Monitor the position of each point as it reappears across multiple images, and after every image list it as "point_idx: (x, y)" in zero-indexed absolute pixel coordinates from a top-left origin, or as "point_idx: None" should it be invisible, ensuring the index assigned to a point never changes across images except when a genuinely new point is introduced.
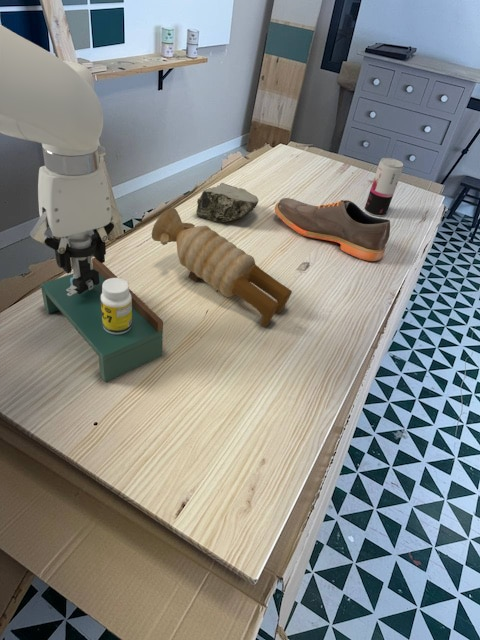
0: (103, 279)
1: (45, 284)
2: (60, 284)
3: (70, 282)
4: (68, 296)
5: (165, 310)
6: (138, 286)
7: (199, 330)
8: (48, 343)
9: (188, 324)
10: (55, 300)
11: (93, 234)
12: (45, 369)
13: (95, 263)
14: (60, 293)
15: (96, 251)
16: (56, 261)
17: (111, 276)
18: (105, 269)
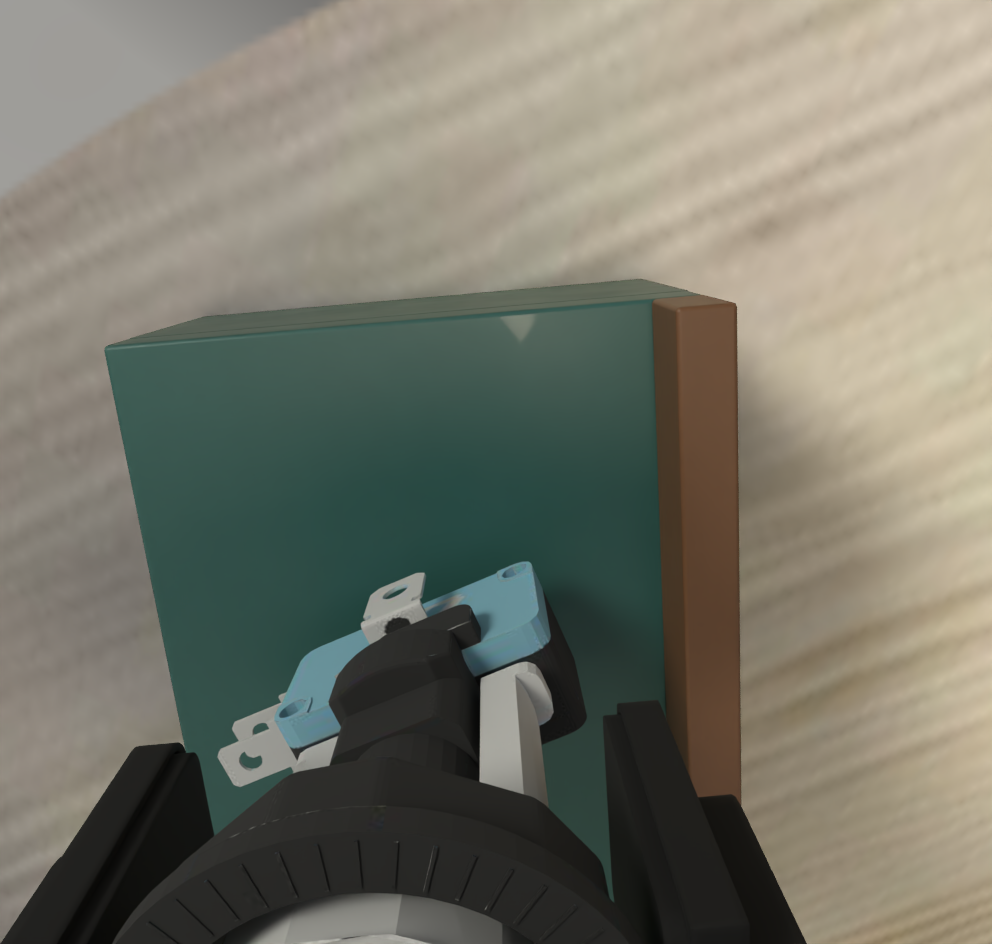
0: (650, 531)
1: (142, 380)
2: (269, 441)
3: (280, 706)
4: (279, 630)
5: (922, 683)
6: (931, 359)
7: (973, 916)
8: (137, 645)
9: (955, 850)
10: (164, 633)
11: (733, 925)
12: (71, 822)
13: (674, 390)
14: (229, 566)
15: (630, 905)
16: (52, 868)
17: (698, 691)
18: (706, 561)
